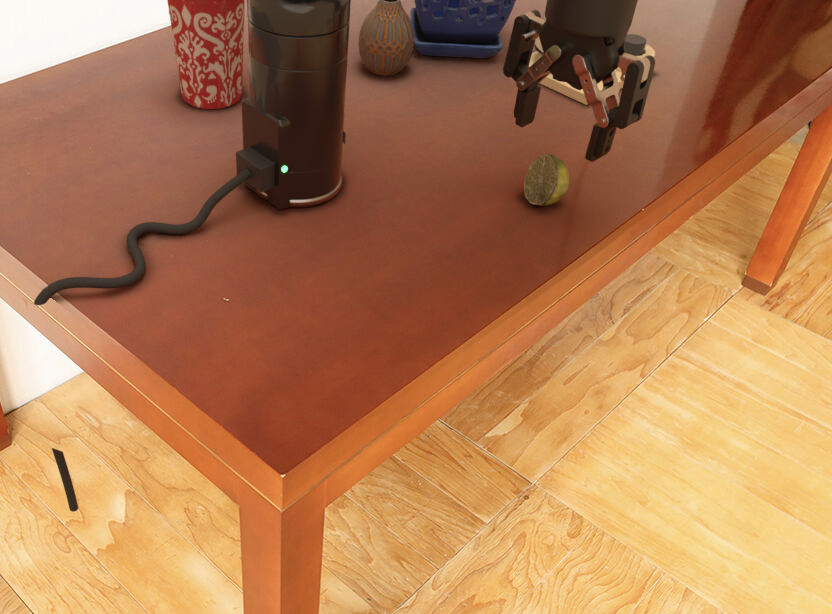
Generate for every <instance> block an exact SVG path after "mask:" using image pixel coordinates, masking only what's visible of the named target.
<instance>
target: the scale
mask: <svg viewBox="0 0 832 614" xmlns="http://www.w3.org/2000/svg"><path fill="white" fill-rule="evenodd" d="M647 55H651V56H652V57H654V58H655V56H656V50H655V49H653V47H652V46H650V45H649V44H646V45H645V48H644V51H643V55H641V56H637V57H640V58H642V57H645V56H647ZM541 56H543V55H541V54H540V53H539V52H538V51H537V50H536V51H534V52H532V55H531V59H530V63H529V67H530V66H531V65H532V64H534V63H535V62H536V61H537V60H538V59H539V58H540V57H541ZM615 73H616V77H617V80H618V83H619V87H620V90H622V88H623V84H624V81H621V79H620V77H621V75H622V72H621V69H620V68H619V67H618V68H617V69H615ZM539 84H540V85H542V86H545V87H546V88H549V89H551V90H553V91H555V92H557V93H559V94H562V95H563V96H566V97H568V98H570V99H572V100H573V101H577V102H578V103H581V104H583V105H585V106H587V105H589V104H588V103H587V101H586V98H585V95H584V92H583V89H582V90H578V89H575V88H573V87H572V86H570V85H569V84H568V83H567V82H560V81H557V80H555V79H553V75H552V74H551V73H550V74H549V75H548V76H547V77H546V78H544V79H543V80H542V81H541V82H540V83H539ZM597 86H598V89H599V90H600V91H601V90H602V89H603V82H602V81H601V82H599V83H598V84H597Z"/></svg>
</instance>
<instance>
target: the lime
mask: <svg viewBox="0 0 832 614" xmlns="http://www.w3.org/2000/svg"><path fill="white" fill-rule="evenodd" d="M570 180H571V178H570V171H569V168H568V166H567V165H566V163H565V161H564V160H563V159H561V157H559V156H556V155H554V154H542V155H540V156H538V157H537V158H536V159H535V160H534V161H533V162H532V163H531V164H530V165H529V166H528V168H527V171H526V174H525V178H524V180H523V192H524V197H525V199H526V200H527V201H528V202H529V203H530V204H531V205H534V206H539V207H541V206H543V207H545V206H551V205H554V204H556V203H557V202H559V201H561V200H562V199H563V198H564V197H565V195H566V193H567V192H568V190H569V187H570V183H571V182H570Z"/></svg>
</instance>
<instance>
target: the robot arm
mask: <svg viewBox="0 0 832 614" xmlns="http://www.w3.org/2000/svg"><path fill="white" fill-rule="evenodd" d="M638 1H639V0H546V3H545V10H544V18H545V19H543V18H542V15H541V13H540V11H539V10H537V9H533V10H531V11H528V12H526V13H523V14H520V15H518V16H516V17H515V18H514V21H513V24H512V29H511V34H510V40H509V43H508V48H507V52H506V55H505V60H504V64H503V69H502V72H503V75H504V76H505V77H506V78H511V79H512V80H514V81H515V83H516V85H515V86H516V88H517V92H516V96H515V97H516V98H515V103H514V108H513V117H514V119H515V122H514V124H515V125H516V126H518V127H520V128H524V127H526V126H529V125H530V124H532V123H533V122H534V120H535V117H536V113H537V109H538V105H539V98H540V95H541V89H542V86H540V85H539V84H540V82H541V81H542V80H543V79H544V78H546V77H547V76H548V75H549V74H550V73H551V74H552V75H553V79H555V80H557V81H560V82H567V83H568V84H569V85H570V86H572V87H573V88H575V89H578V90H582V89H583V92H584V95H585V98H586V101H587V103H588V104H587V105H589V106H591V108H592V111H593V114H594V118H595V120H596V123H595V124H593V126H592V129H591V134H590V137H589V141H588V145H587V149H586V152H585V155H584V159H585V160H586V161H589V162H591V163H594V162H595V161H597V160H599V159H601V158H602V157H604V156H606V155H608V154H609V152H610V151H611V149H612V146H613V143H614V138H615V135H616V132H617V129H619V130H624V129H626V128H628V127H629V126H631V125H633V124H635V123H637V122H639V121H641V120H642V119H643V115H644V111H645V107H646V102H647V99H648V94H649V91H650V86H651V82H652V78H653V75H654V70H655V66H656V59H655V57H652V56H651V55H647V56H645V57H642V58H640V57H637V56H634V55H631V54H628V53H626V50H625V38H626V35H627V34H629V31H630V29H631V26H632V23H633V19H634V16H635V11H636V8H637V4H638ZM351 3H352V0H246V10H247V11H246V12H247V35H248V38H247V39H248V76H249V77H248V78H249V81H248V83H249V96H246V97H244V98H242V100H241V103H240V104H241V127H242V131H241V132H242V149H240V150H238V151H235V168H236V175H235V176H234V177H232V178H231V179H230V180H228V181H227V182H226V183H224V184H223V185H222V186H221V187H219V188H218V189H217V190H216V191H215V192H213V193H212V194H211V195H210V197H208V199H206V201H205V202H204V203H203V205H202V207H201V209H200V210H199V212H198V214H197V215H196V216H195V217H194V218H193V219H192V220H190V221H188V222H186V223H181V224H173V223H164V222H157V221H146V222H142V223H139V224H137V225H134V226H133V227H132V228H131V229H130V231H129V232H128V234H126V235H127V236H126V245H127V248H128V250H129V253H130V255H131V257H132V259H133V261H134V265H135V266H134V268H133V270H132V271H130V272H129V273H128V274H125V275H122V276H117V277H94V276H93V277H92V276H74V277H73V276H71V277H65V278H60V279H58V280H56V281H53V282H51V283H50V284H48V285H47V286H46V287H44V288H43V289H42V290H41V291H40V292H39V293H38V295H37V296H36V297H35V299H34V300H33V301H34V302H33V304H34V305H35V306H42V305H45V304H46V303H47V302H48V301H49V300H50V299H51V298H52V297H53V296H54V295H56V294H57V293H60V292H61V291H64V290H68V289H107V290H109V289H110V290H111V289H120V288H126V287H128V286H131V285H133V284H134V283H136V282H138V281H139V280H140V279H141V278H142V277H143V276H144V274H145V272H146V268H147V264H146V259H145V256H144V255H143V252H142V250H141V248H140V247H139V245H138V238H139V237H141V236H142V235H143V234H146V233H159V234H167V235H185V234H189V233H193V232H194V231H196V230H198V229H199V228H200V227H202V226H203V225H204V223H205V222H206V221H207V219H208V217H209V216H210V214H211V213H212V211H213V210H214V208H215V207H216V206H217V205H218V203H220V202H221V201H222V200H223V199H224V198H225V197H226V196H228V195H229V194H231V192H233V191H234V190H235V189H237V188H238V187H239V186H241V185H242V184H243V185H244V186H246V187H247V188H248V189H250V190H251V191H252V192H254V193H255V194H257V196H258V197H260V198H262V199H263V200H265V201H267V202H268V203H269V204H270V205H272V206H273V207H275V208H277V209H278V210H279V211H283V210H286V209H288V208H304V207H306V208H307V207H312V206H316V205H321V204H323V203H326V202H328V201H330V200H331V199H333V198H334V197H335V196H337V195H338V193H339V192H340V191H341V189H342V181H343V174H342V165H343V144H344V145H346V135H347V134H346V132H345V130H344V128H345V127H344V126H345V113H346V112H345V111H346V109H345V108H346V107H345V106H346V94H347V93H346V92H347V73H348V71H347V70H348V56H349V55H348V54H349V43H350V41H349V39H350V21H351ZM538 37H539V39H540V42H541V45H542V49H543V52H544V55H543V56H541V57H540V58H539V59H538V60H537V61H536V62H535V63H534V64H532V65H531V66H530V67H529V63H530V59H531V55H532V53H533V51H534V48H535V41H536V39H537V38H538ZM618 67H619V68H620V69H621V72H622V75H621V77H620V79H621V81H624V84H623V88H621V89H620V87H619V83H618V80H617V77H616V73H615V69H617V68H618ZM601 81H602V82H603V89H602V90H601V91H600V90H599V89H598V86H597V84H598V83H599V82H601ZM620 91H621V93H620ZM619 93H620V96H619ZM51 450H52V451H51V452H52V454H53V456H54V459H55V462H56V466H57V469H58V473H59V475H60V478H61V479H60V480H61V482H62V486H63V489H64V492H65V493H64V494H65V496H66V500H67V504H68V509H69V511H70V512H76V511H78V510H79V504H78V499H77V496H76V492H75V488H74V485H73V484H74V483H73V481H72V478H71V477H72V476H71V474H70V470H69V467H68V464H67V461H66V457H65V454H64V452H63V451H62V450H60V449H57V448H54V447H51Z"/></svg>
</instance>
